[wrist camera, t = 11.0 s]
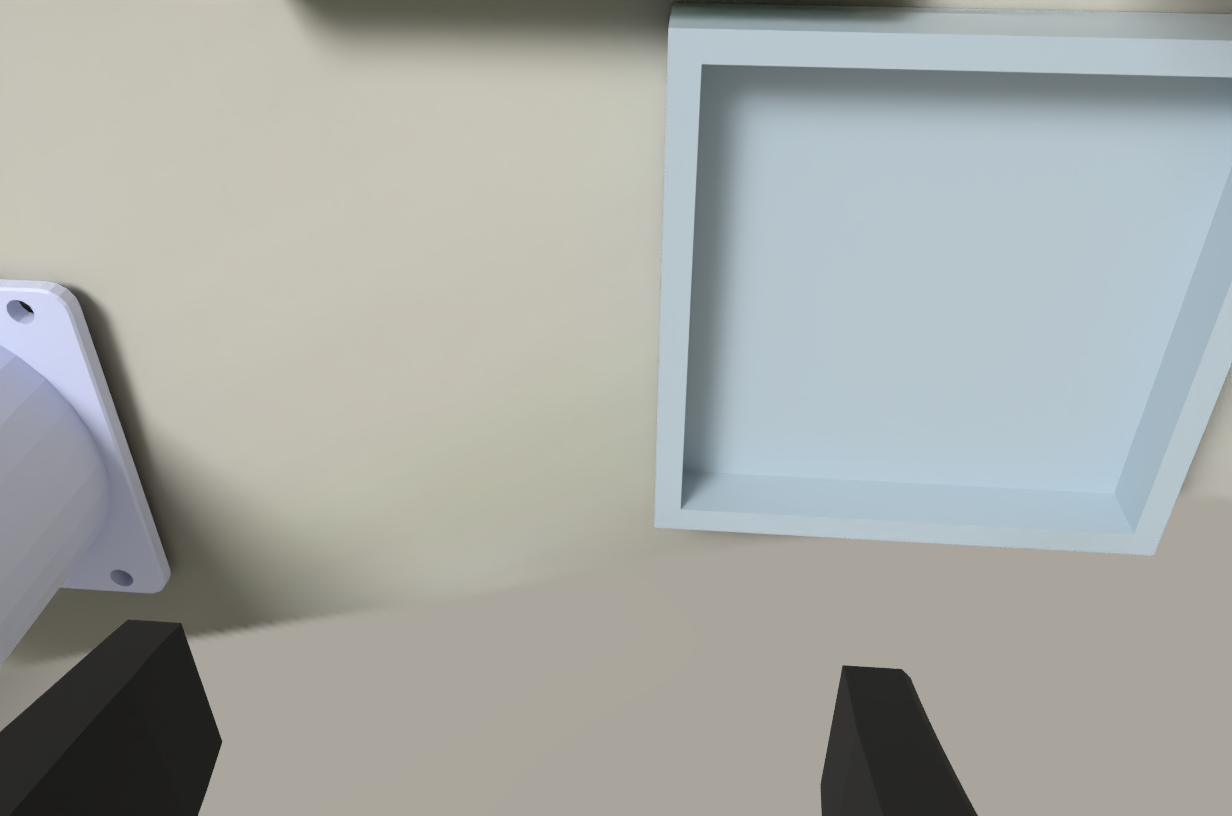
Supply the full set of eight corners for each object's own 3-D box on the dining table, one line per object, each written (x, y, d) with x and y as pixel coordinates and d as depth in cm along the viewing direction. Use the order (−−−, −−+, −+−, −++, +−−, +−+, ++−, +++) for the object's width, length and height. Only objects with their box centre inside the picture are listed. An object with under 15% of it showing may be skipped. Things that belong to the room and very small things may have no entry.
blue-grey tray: (657, 479, 21) (654, 527, 20) (672, 2, 16) (668, 28, 15) (1127, 504, 21) (1153, 555, 19) (1309, 15, 15) (1362, 43, 14)
